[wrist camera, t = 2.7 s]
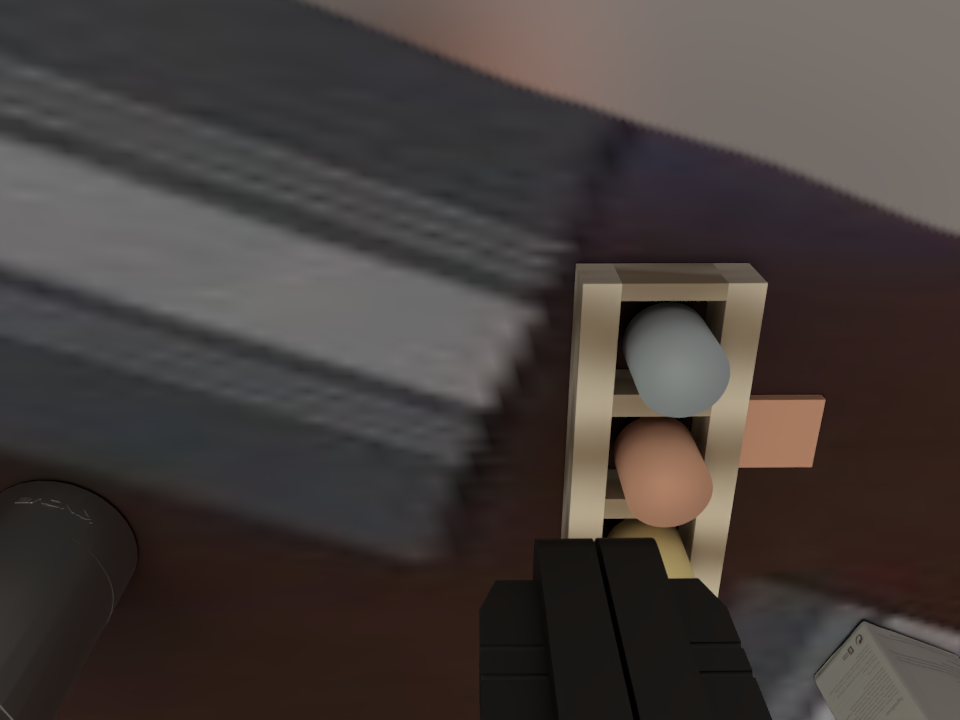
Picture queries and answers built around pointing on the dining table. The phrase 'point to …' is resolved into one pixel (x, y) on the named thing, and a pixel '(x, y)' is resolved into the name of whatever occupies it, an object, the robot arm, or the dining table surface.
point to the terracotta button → (661, 472)
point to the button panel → (615, 394)
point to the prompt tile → (781, 430)
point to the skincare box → (890, 678)
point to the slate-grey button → (675, 360)
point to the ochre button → (659, 544)
